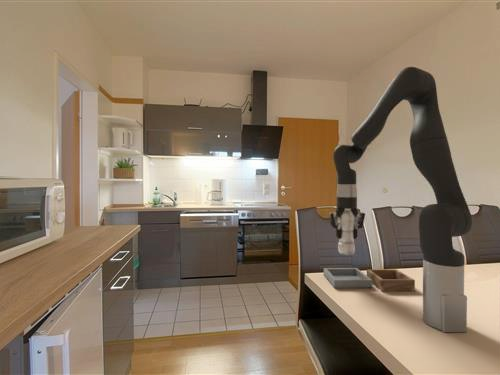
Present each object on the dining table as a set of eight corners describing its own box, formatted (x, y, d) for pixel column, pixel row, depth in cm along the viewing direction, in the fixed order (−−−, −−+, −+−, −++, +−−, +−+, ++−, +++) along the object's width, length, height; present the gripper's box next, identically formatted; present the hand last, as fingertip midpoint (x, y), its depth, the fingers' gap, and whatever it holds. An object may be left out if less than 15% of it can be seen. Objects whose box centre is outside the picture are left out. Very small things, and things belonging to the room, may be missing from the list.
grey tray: (372, 288, 99) (372, 280, 99) (334, 288, 99) (334, 280, 99) (356, 275, 113) (356, 268, 113) (323, 275, 113) (323, 268, 113)
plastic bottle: (352, 252, 109) (352, 203, 108) (357, 257, 102) (357, 205, 102) (336, 252, 109) (336, 203, 109) (339, 256, 103) (340, 204, 102)
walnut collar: (414, 291, 96) (414, 280, 96) (381, 291, 96) (381, 280, 96) (396, 279, 108) (396, 269, 108) (366, 279, 108) (366, 269, 108)
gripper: (331, 196, 101) (331, 240, 102) (369, 196, 101) (369, 240, 102) (325, 195, 109) (325, 236, 109) (360, 195, 109) (360, 236, 109)
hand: (346, 238), depth 106 cm, fingers closed on plastic bottle, 5 cm apart
